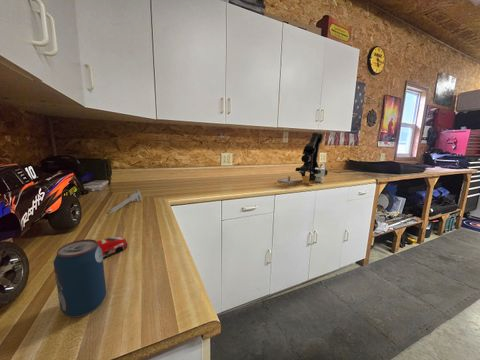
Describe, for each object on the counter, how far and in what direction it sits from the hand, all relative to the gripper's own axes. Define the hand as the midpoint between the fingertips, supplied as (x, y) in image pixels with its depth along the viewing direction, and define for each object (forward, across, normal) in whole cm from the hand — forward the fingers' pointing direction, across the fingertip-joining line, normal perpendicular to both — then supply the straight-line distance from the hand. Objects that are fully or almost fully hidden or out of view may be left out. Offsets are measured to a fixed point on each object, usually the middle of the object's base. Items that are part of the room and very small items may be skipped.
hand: (306, 181), depth 165 cm
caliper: (+2, -25, -124) cm, 127 cm away
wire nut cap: (+1, 0, 0) cm, 1 cm away
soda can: (+1, +33, -148) cm, 152 cm away
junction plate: (+1, -12, -7) cm, 14 cm away
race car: (+2, +15, -142) cm, 143 cm away
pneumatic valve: (+1, +3, +14) cm, 14 cm away
